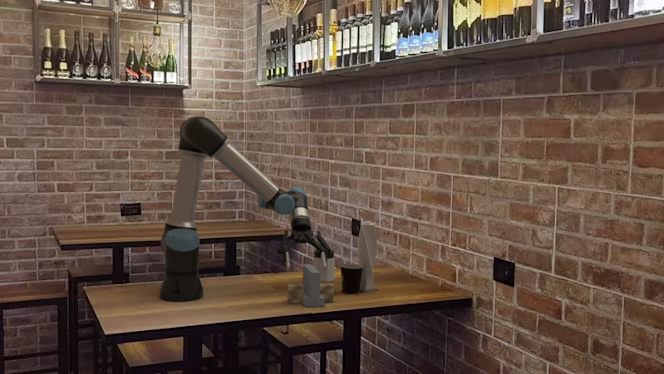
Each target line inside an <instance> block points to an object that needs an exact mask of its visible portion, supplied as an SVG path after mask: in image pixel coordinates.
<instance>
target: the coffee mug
mask: <svg viewBox="0 0 664 374" xmlns="http://www.w3.org/2000/svg"><path fill="white" fill-rule="evenodd" d="M362 271H363V266H362V265H359V264H356V263H355V264H354V263H343V264H341V265H340V275H341V277H340V278H341V288H342V289H341V290H342V293H343V294H346V295H357V294H359V293H360V291H359V290H360V284H361V277H362Z"/></svg>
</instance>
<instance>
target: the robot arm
mask: <svg viewBox="0 0 664 374" xmlns="http://www.w3.org/2000/svg"><path fill="white" fill-rule="evenodd" d="M178 142H179V143H178V148H177V151H178V152H179V153H180V161H179V168H178V172H177V179H176V185H175V190H174V196H173V202H172V207H171V208H172V209H171V212H170V213H171V214H170V218H169V219H168V220H166V221H165V225H164V228H163V229H164V230H163V232H162V233H163V234H162V236H161V238H160V247H161V250H162V252H163V253H164V255H165V257H164V258H165V261H164V268H165V269H164V277H163V280H162V283H161V286H160V289H159V298H160V299H162V300H165V301H169V302H170V301H171V302H189V301H195V300H198V299H199V300H200V299H201V298H203V296H204V289H203V284H202V281H201V278H200V275H199V274H200V272H199V267H200V263H199V262H200V241H201V240H200V235H199V232H198V231H197V229H198V226H197V224H196V223H195V216H196V211H197V204H198V199H199V192H200V187H201V182H202V176H203V170H204V166H205V165H204V163H205V160H206V158H208V157H209V158H212V159H213V158H214V159H216V160H217V161H218V162H219V163H220V164H221V165H222V166H223V167H225V168H226V170H229V172H230V173H231V174H233V175H234V176H235V177H236V178H238V180H239V181H241V182H242V184H244V185H245V186H246V187H248V189H250V190H251V191H252V192H253V193H254V194H256V195H257V196H258V197H257V205H258V207H259V208H260V209H265V210H271V211H273V212H276V213H278V215H285V216H286V215H289V219H290V227H291V231H288V230H287V229H286V230H284V234H283V238H282V239H281V242H280V244H279V245H278V248H277V251H276V253H277V255H281V258H282V263H285V267H286V271H287V272H289V271H290V268H291V267H290V266H291V264H290V256H289V251H290V250H291V249H292V248H293V247H294V246H295V245H296V244H297V243H298V244H309V245H310V246H311V247H313V248H314V250H318V251H319V252H320V253H321V261H322V267H323V270H325V269H326V262H327V259H328V258H327V254H330V251H331V250H332V248H331V246H329V244H328V243H327V242H326V240H325V239H324V238H323V236H322V235H321V232H320V230H317V231H316V232H315V231H312V224H311V218H310V213H309V206H308V205H309V204H308V197H307V193H306V191H305V189H304V188H303V187H300V186H295V187H291V188H289V189H288V191H284V190H283V189H282V188H280V186H278V185H277V183H275V182H274V181H273V180H272V179H270V178H269V177H268V176H267V175H266V174H265V173H264V172H263V171H262V170H261V169H259V167H257V165H255V164H254V163H253V162H252V161H251V160H249V158H247V156H245V155H244V154H243V153H242V152H241V151H239V150H238V148H236V147H235V146H234V145H233V144H232V143H230V140H229V137H228V136H227V135H226V134H225V133H224V132H223V131H222V130H221V129H220V128H219V127H218V126H217V124H215V122H214V121H212V120H211V119H210V118H208V117H206V116H201V115H198V116H196V115H195V116H190V117H188V118H186V119H185V120H184V121H183V122H182V124H181V125H180V128H179V141H178ZM290 237H291V238H292V239H291V240H290V241H289V243H288V244H287V245H286V246H285V244H286V242H287V240H288V238H290ZM284 246H285V247H284Z"/></svg>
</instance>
